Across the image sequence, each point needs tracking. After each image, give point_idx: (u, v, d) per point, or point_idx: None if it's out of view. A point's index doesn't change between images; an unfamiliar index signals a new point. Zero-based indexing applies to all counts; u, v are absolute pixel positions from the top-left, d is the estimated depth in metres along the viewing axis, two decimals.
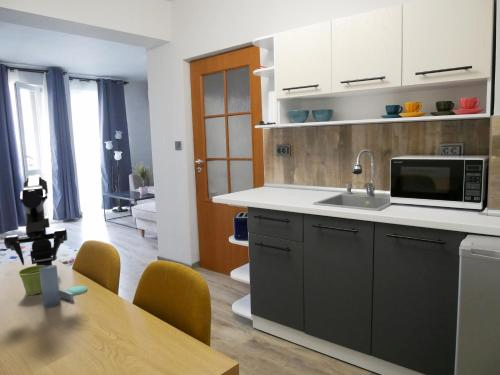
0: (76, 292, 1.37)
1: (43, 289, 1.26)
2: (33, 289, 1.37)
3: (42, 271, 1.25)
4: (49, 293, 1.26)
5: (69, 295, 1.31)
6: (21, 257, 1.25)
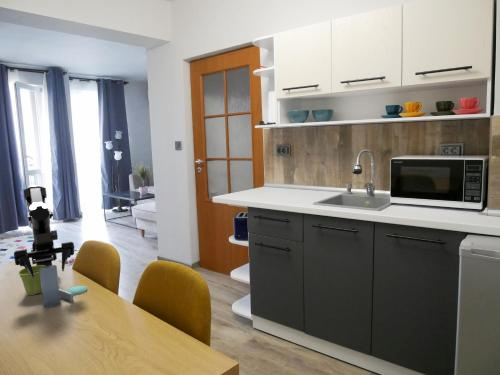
0: (76, 292, 1.37)
1: (43, 289, 1.26)
2: (33, 289, 1.37)
3: (42, 271, 1.25)
4: (49, 293, 1.26)
5: (69, 295, 1.31)
6: (31, 269, 1.28)
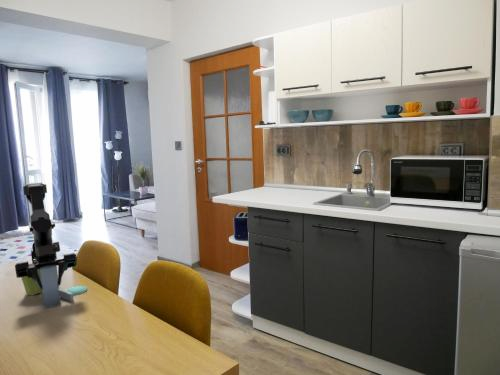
0: (76, 292, 1.37)
1: (43, 289, 1.26)
2: (33, 289, 1.37)
3: (42, 271, 1.25)
4: (49, 293, 1.26)
5: (69, 295, 1.31)
6: (39, 281, 1.26)
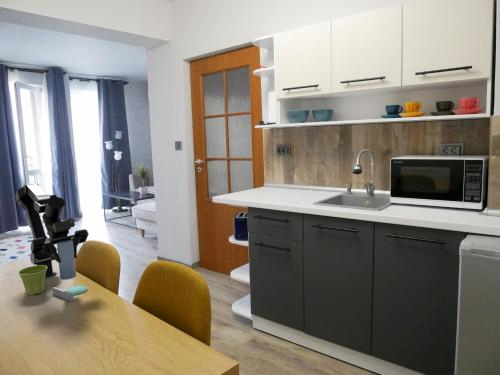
0: (76, 292, 1.37)
1: (61, 262, 1.32)
2: (33, 289, 1.37)
3: (61, 245, 1.31)
4: (67, 266, 1.33)
5: (69, 295, 1.31)
6: (57, 255, 1.32)
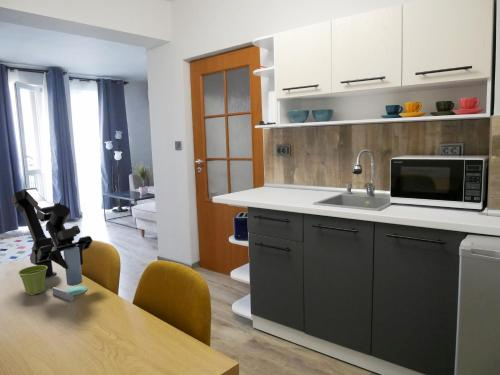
0: (76, 292, 1.37)
1: (69, 269, 1.36)
2: (33, 289, 1.37)
3: (68, 252, 1.35)
4: (75, 272, 1.36)
5: (69, 295, 1.31)
6: (64, 262, 1.35)
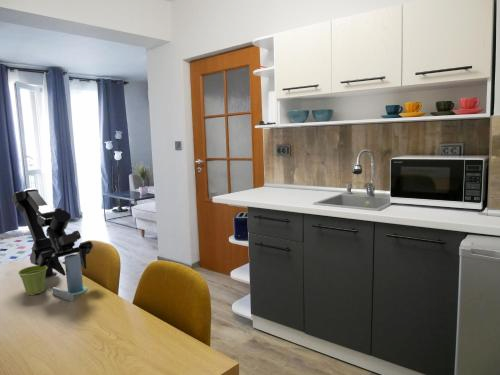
0: None
1: (70, 276, 1.36)
2: (33, 289, 1.37)
3: (69, 259, 1.35)
4: (76, 279, 1.37)
5: (69, 295, 1.31)
6: (62, 268, 1.35)
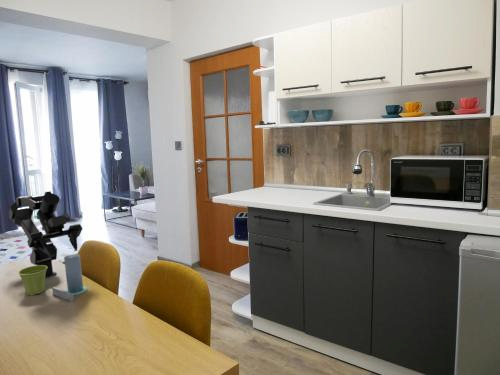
0: None
1: (69, 276, 1.36)
2: (33, 289, 1.37)
3: (69, 259, 1.35)
4: (75, 279, 1.37)
5: (69, 295, 1.31)
6: (49, 249, 1.38)
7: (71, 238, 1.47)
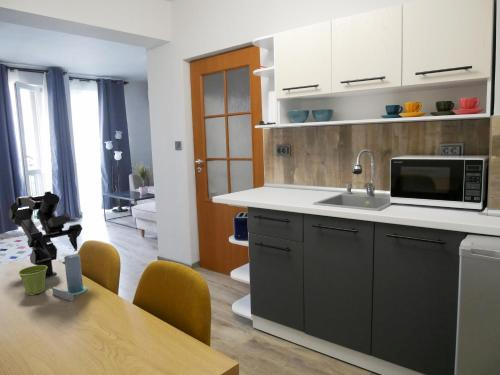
0: None
1: (69, 276, 1.36)
2: (33, 289, 1.37)
3: (69, 259, 1.35)
4: (75, 279, 1.37)
5: (69, 295, 1.31)
6: (49, 249, 1.38)
7: (71, 238, 1.47)
